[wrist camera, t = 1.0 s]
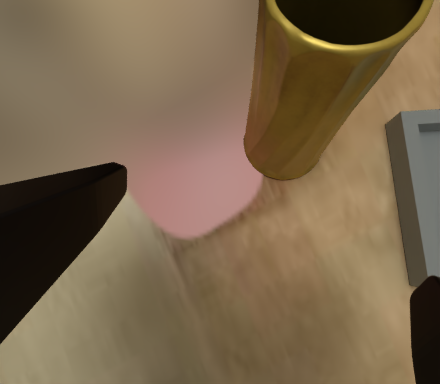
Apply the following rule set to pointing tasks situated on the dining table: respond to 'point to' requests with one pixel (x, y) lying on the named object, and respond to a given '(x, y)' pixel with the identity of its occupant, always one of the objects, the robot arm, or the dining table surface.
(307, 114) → the vase
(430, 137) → the tray
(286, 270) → the dining table surface
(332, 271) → the dining table surface
